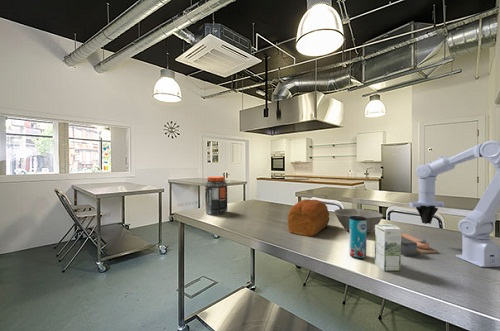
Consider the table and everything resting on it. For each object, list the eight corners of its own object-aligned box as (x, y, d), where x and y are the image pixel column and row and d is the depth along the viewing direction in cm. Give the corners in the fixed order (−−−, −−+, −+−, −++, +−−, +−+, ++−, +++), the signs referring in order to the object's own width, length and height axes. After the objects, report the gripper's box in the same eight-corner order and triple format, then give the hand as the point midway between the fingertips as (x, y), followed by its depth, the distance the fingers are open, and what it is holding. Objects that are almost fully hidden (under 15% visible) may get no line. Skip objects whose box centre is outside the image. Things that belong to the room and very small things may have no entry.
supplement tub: (212, 210, 178) (212, 176, 177) (231, 211, 171) (231, 176, 171) (200, 214, 163) (200, 177, 163) (220, 216, 157) (220, 177, 156)
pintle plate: (438, 253, 93) (438, 251, 93) (421, 253, 92) (421, 251, 92) (424, 246, 100) (424, 244, 99) (408, 247, 99) (408, 245, 99)
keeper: (416, 255, 90) (416, 242, 90) (404, 256, 90) (404, 243, 90) (402, 248, 98) (402, 236, 98) (391, 248, 97) (391, 236, 97)
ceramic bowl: (390, 239, 109) (390, 218, 108) (338, 236, 113) (338, 216, 113) (374, 226, 130) (374, 209, 130) (331, 224, 135) (331, 207, 135)
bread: (331, 225, 134) (331, 198, 133) (315, 238, 112) (315, 205, 111) (304, 221, 143) (304, 195, 143) (284, 232, 121) (284, 202, 120)
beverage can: (356, 260, 86) (357, 220, 86) (346, 254, 92) (346, 216, 91) (370, 258, 88) (370, 218, 87) (358, 252, 93) (358, 215, 93)
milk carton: (390, 263, 83) (390, 223, 83) (401, 271, 77) (401, 228, 77) (374, 264, 83) (374, 223, 83) (384, 272, 77) (384, 228, 77)
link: (431, 249, 94) (431, 241, 94) (422, 249, 94) (422, 241, 94) (406, 237, 108) (406, 231, 108) (397, 238, 108) (397, 231, 108)
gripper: (434, 190, 106) (434, 220, 107) (404, 191, 105) (404, 221, 106) (448, 193, 99) (448, 224, 100) (416, 193, 98) (416, 225, 99)
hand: (426, 223), depth 102 cm, fingers closed
